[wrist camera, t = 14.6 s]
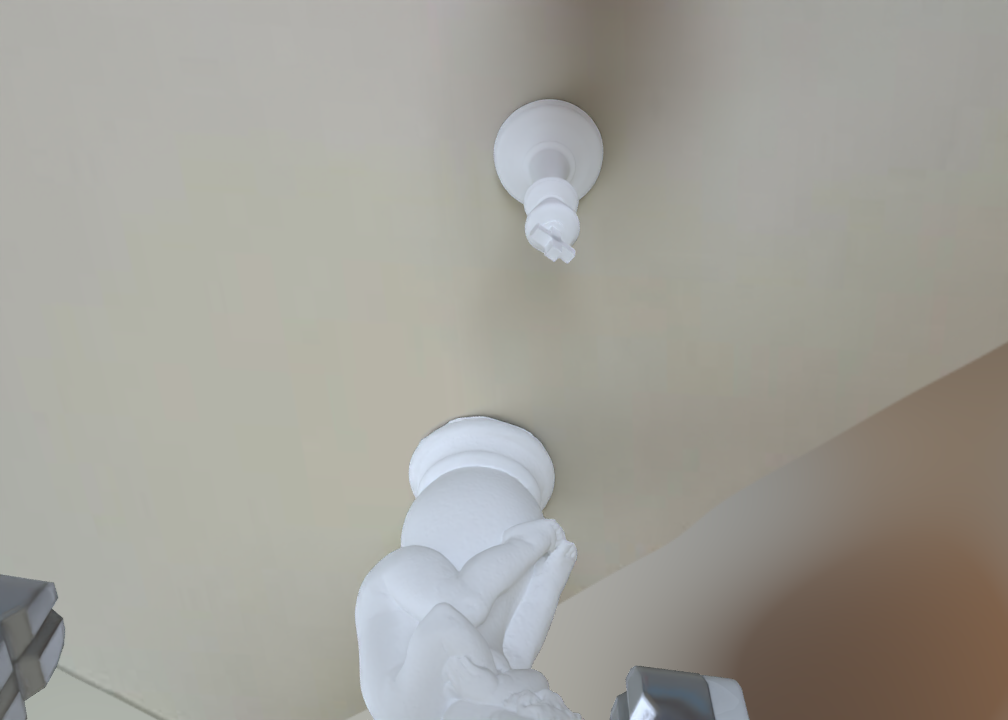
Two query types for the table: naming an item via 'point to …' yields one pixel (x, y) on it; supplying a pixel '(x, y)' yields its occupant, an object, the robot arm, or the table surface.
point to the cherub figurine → (467, 583)
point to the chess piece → (549, 169)
